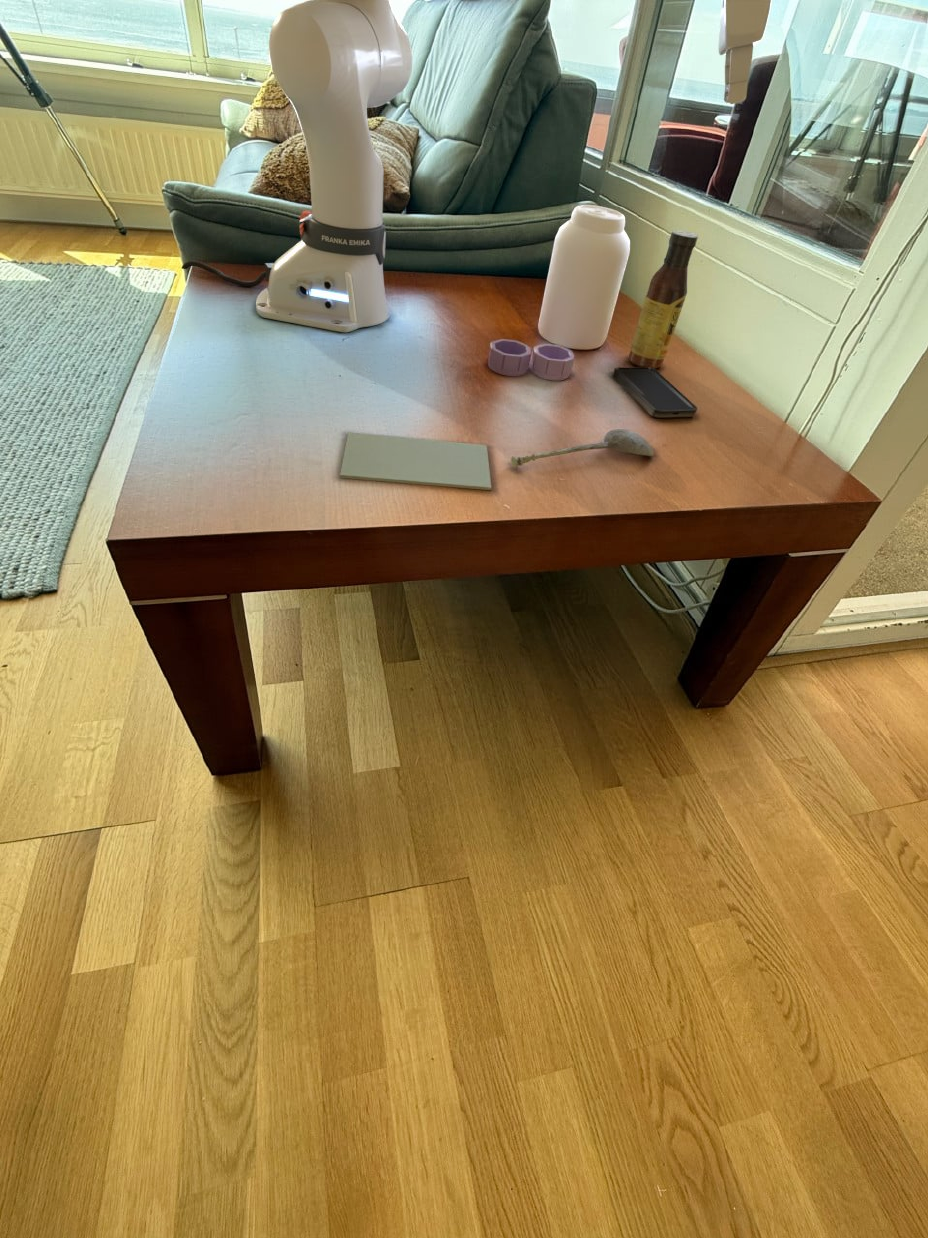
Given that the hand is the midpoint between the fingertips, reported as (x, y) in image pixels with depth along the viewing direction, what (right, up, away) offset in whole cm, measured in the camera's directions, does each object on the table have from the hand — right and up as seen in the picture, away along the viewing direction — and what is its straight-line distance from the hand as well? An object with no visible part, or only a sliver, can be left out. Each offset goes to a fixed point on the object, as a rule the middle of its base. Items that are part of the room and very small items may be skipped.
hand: (734, 102), depth 72 cm
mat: (-37, -40, +6) cm, 55 cm away
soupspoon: (-15, -38, +12) cm, 43 cm away
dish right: (-17, -19, +30) cm, 40 cm away
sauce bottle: (0, -15, +38) cm, 41 cm away
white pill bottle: (-12, -8, +42) cm, 45 cm away
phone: (-1, -24, +28) cm, 37 cm away
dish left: (-24, -19, +29) cm, 42 cm away
